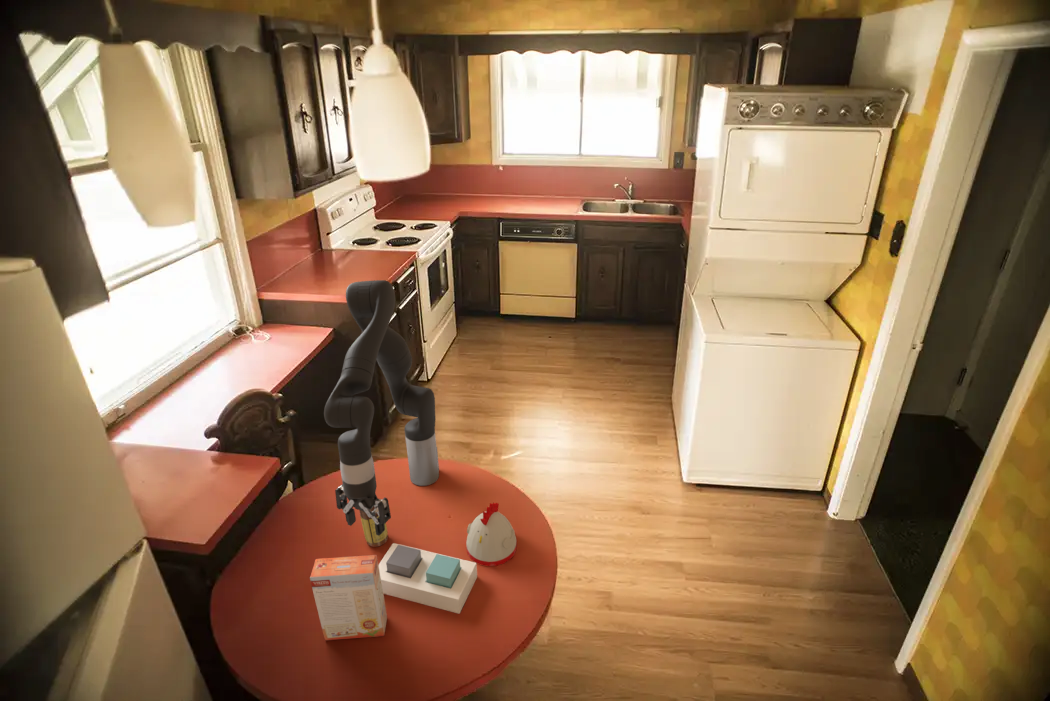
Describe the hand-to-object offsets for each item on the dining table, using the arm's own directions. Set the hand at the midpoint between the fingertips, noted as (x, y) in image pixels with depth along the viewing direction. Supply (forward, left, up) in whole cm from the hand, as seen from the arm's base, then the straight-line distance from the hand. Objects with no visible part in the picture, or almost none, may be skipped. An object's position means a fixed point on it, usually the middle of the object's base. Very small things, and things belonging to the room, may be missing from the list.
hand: (365, 528), depth 145 cm
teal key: (-4, +18, -16) cm, 24 cm away
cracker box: (+13, +2, -20) cm, 24 cm away
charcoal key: (-4, +7, -16) cm, 18 cm away
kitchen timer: (-21, +24, -20) cm, 38 cm away
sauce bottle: (-14, -8, -20) cm, 26 cm away
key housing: (-4, +12, -20) cm, 23 cm away
